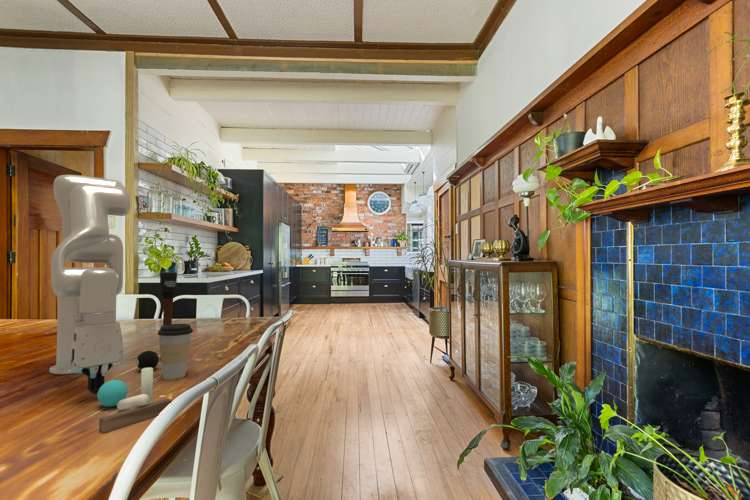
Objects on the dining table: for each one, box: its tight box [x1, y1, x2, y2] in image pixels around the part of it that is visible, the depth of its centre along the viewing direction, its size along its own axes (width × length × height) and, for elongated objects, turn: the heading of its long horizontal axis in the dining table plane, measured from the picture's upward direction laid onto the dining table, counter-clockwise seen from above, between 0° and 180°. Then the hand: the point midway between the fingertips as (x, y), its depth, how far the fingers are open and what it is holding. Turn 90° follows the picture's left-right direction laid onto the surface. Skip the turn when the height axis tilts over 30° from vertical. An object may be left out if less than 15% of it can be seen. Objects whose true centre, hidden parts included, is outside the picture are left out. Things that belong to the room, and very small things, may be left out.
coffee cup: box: [157, 323, 194, 381], centre depth 117 cm, size 9×9×15 cm
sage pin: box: [140, 367, 154, 404], centre depth 93 cm, size 2×2×9 cm
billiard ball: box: [136, 350, 160, 371], centre depth 123 cm, size 6×6×6 cm
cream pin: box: [116, 393, 149, 411], centre depth 89 cm, size 2×2×9 cm
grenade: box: [158, 271, 178, 326], centre depth 135 cm, size 6×6×30 cm
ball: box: [96, 379, 129, 408], centre depth 93 cm, size 6×6×6 cm
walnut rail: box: [98, 397, 173, 434], centre depth 86 cm, size 2×14×2 cm, turn 148°
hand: (95, 392), depth 98 cm, fingers closed
